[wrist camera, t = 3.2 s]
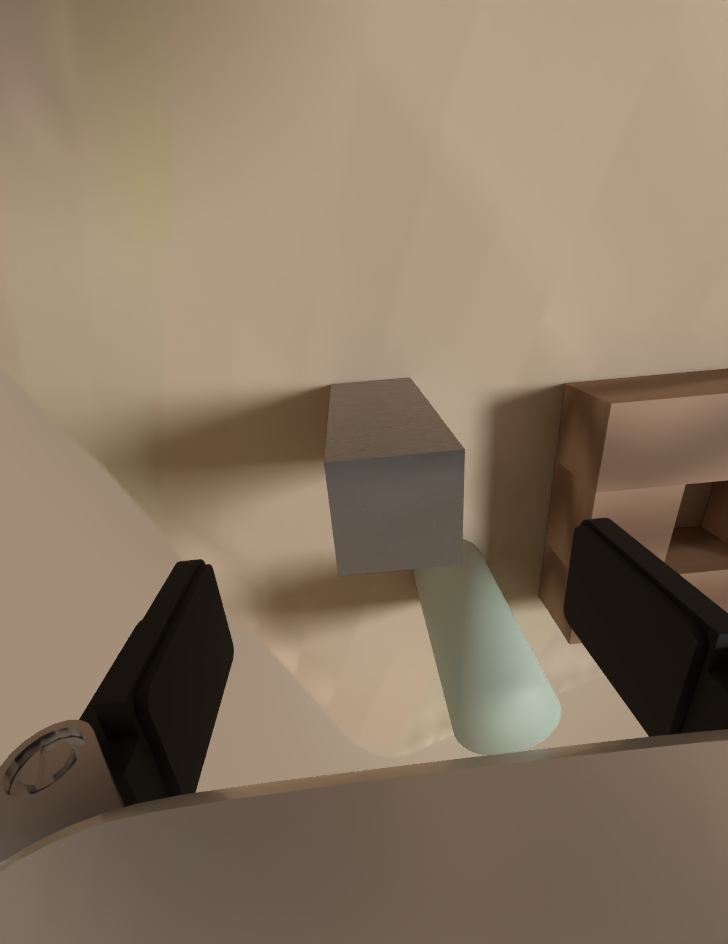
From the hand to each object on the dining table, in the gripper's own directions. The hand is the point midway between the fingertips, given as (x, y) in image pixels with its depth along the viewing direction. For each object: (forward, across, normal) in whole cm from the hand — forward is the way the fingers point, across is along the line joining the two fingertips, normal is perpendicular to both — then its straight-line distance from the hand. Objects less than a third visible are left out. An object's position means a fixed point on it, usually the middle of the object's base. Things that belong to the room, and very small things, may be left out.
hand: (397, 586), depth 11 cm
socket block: (+12, -18, +5) cm, 22 cm away
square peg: (+12, 0, -1) cm, 12 cm away
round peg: (+12, -4, +9) cm, 16 cm away
